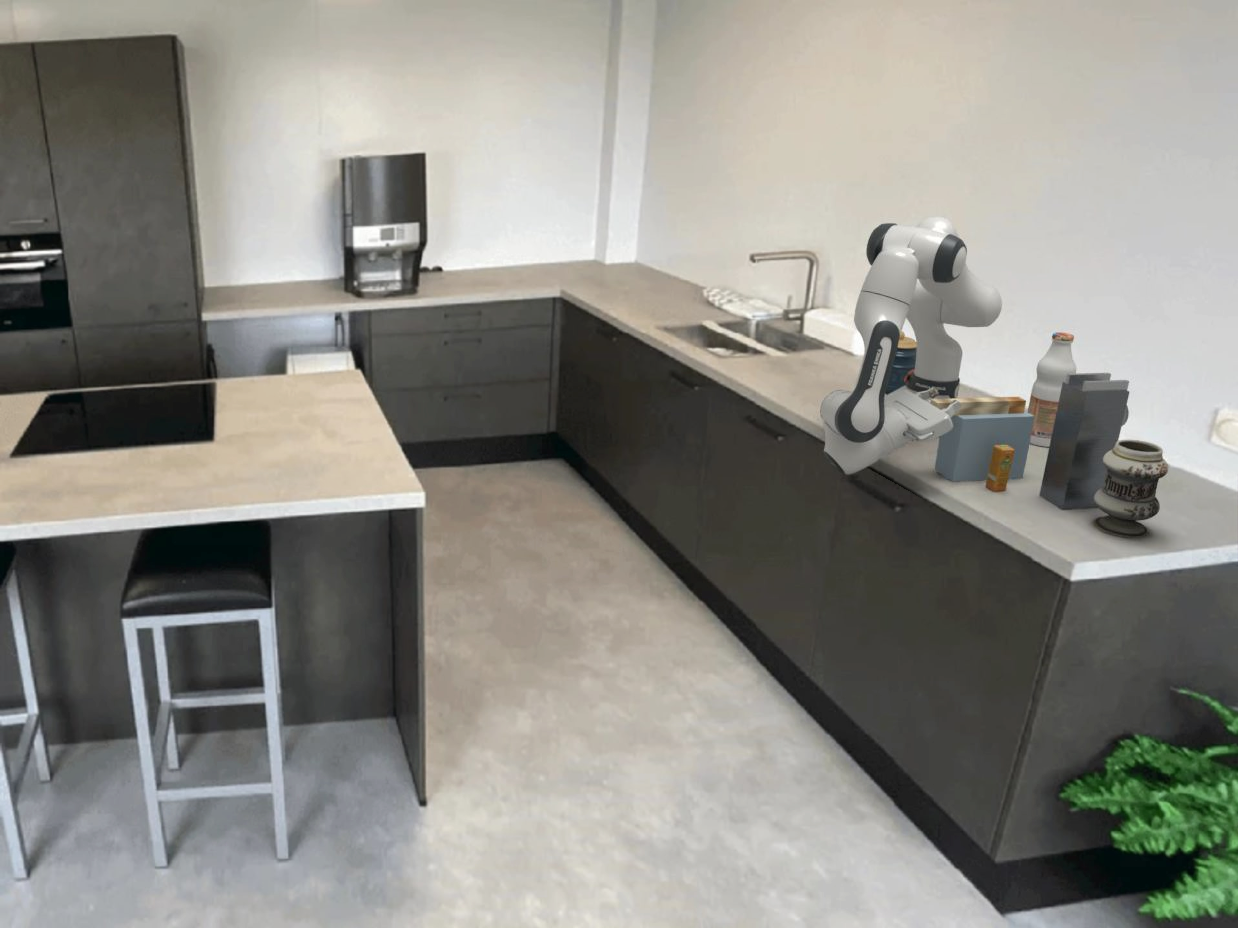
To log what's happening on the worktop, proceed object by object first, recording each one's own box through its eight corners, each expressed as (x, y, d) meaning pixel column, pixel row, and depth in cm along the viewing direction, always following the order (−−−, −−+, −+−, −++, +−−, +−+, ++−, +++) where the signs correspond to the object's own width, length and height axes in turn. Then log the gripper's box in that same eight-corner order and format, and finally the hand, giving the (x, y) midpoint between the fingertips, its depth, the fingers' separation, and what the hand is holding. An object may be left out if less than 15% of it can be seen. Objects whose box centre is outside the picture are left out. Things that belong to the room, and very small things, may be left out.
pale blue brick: (952, 481, 224) (963, 419, 218) (934, 469, 231) (944, 408, 225) (1022, 478, 227) (1035, 416, 222) (1002, 465, 235) (1014, 405, 229)
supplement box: (994, 492, 219) (1002, 449, 215) (984, 486, 222) (992, 444, 218) (1007, 491, 219) (1015, 448, 216) (997, 485, 223) (1005, 443, 219)
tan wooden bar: (935, 416, 219) (937, 403, 218) (929, 411, 222) (931, 399, 221) (1023, 413, 224) (1026, 400, 223) (1016, 409, 227) (1018, 396, 226)
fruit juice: (1014, 437, 255) (1034, 330, 245) (1043, 434, 258) (1064, 329, 249) (1040, 449, 247) (1062, 339, 237) (1069, 446, 250) (1092, 338, 240)
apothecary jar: (1113, 512, 211) (1132, 432, 204) (1166, 534, 201) (1187, 451, 194) (1075, 521, 205) (1094, 439, 199) (1127, 544, 195) (1148, 459, 189)
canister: (907, 398, 284) (916, 338, 278) (864, 390, 291) (871, 331, 284) (920, 388, 295) (929, 330, 289) (877, 380, 301) (885, 324, 295)
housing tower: (1062, 509, 211) (1089, 383, 201) (1039, 495, 218) (1064, 372, 208) (1110, 506, 213) (1140, 382, 203) (1086, 492, 221) (1113, 371, 211)
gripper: (912, 432, 209) (968, 399, 209) (868, 403, 227) (920, 372, 228) (922, 455, 212) (977, 423, 212) (878, 425, 230) (929, 395, 230)
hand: (947, 396), depth 220 cm, fingers open, 8 cm apart
